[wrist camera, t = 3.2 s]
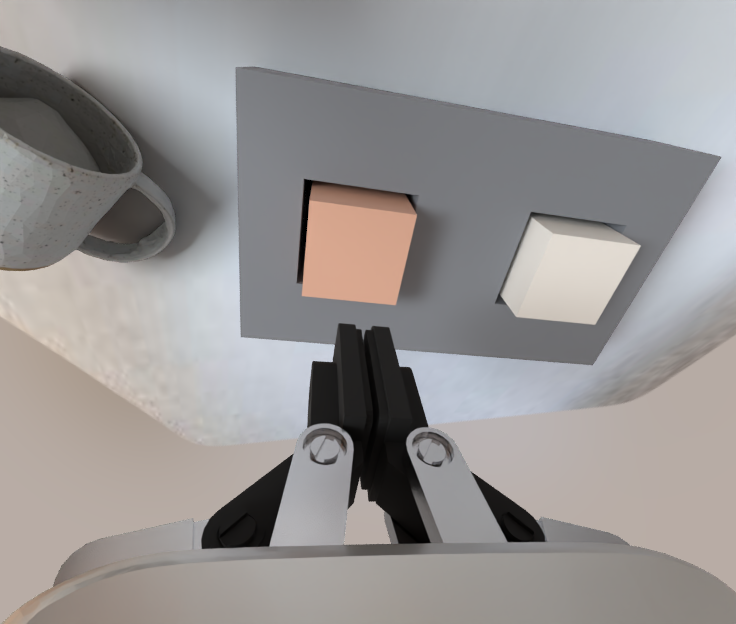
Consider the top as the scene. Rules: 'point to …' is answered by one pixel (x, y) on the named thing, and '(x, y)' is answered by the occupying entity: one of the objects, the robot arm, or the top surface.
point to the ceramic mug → (64, 171)
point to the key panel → (440, 211)
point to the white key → (566, 269)
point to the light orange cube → (356, 243)
